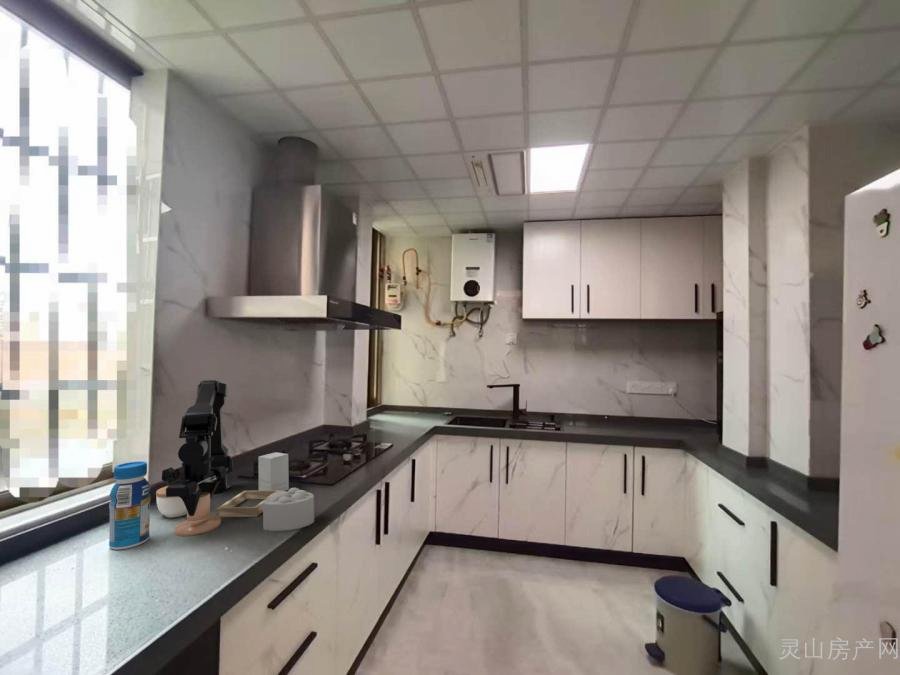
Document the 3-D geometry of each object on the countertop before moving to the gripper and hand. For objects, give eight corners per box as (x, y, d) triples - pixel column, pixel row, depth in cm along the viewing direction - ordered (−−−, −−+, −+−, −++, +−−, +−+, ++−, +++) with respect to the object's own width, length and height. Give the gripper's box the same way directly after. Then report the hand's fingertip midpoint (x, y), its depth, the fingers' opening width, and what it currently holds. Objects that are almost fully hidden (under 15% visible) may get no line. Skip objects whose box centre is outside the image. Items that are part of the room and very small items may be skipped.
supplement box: (289, 489, 144) (289, 453, 145) (270, 496, 138) (270, 458, 139) (276, 486, 148) (276, 451, 149) (257, 492, 142) (257, 456, 143)
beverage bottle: (100, 547, 102) (101, 467, 103) (136, 534, 110) (138, 459, 111) (121, 553, 99) (123, 470, 100) (157, 538, 107) (158, 461, 107)
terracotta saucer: (191, 519, 119) (191, 516, 119) (228, 519, 119) (228, 515, 119) (164, 536, 108) (164, 532, 108) (206, 535, 108) (206, 531, 108)
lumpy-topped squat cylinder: (274, 516, 120) (274, 486, 120) (318, 514, 121) (318, 485, 121) (259, 531, 110) (259, 499, 110) (308, 529, 110) (307, 497, 111)
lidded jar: (148, 517, 122) (148, 485, 122) (185, 505, 131) (185, 475, 131) (168, 523, 117) (168, 490, 117) (205, 510, 126) (205, 479, 126)
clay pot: (194, 513, 116) (195, 492, 116) (214, 513, 116) (214, 491, 116) (182, 521, 111) (182, 498, 111) (202, 521, 111) (202, 498, 111)
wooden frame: (243, 498, 136) (243, 490, 136) (279, 497, 136) (279, 490, 136) (216, 517, 120) (216, 508, 120) (256, 516, 120) (256, 507, 120)
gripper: (191, 448, 123) (191, 500, 123) (145, 464, 105) (144, 526, 104) (227, 447, 123) (227, 499, 123) (188, 463, 105) (187, 525, 104)
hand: (198, 511), depth 113 cm, fingers closed on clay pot, 5 cm apart
